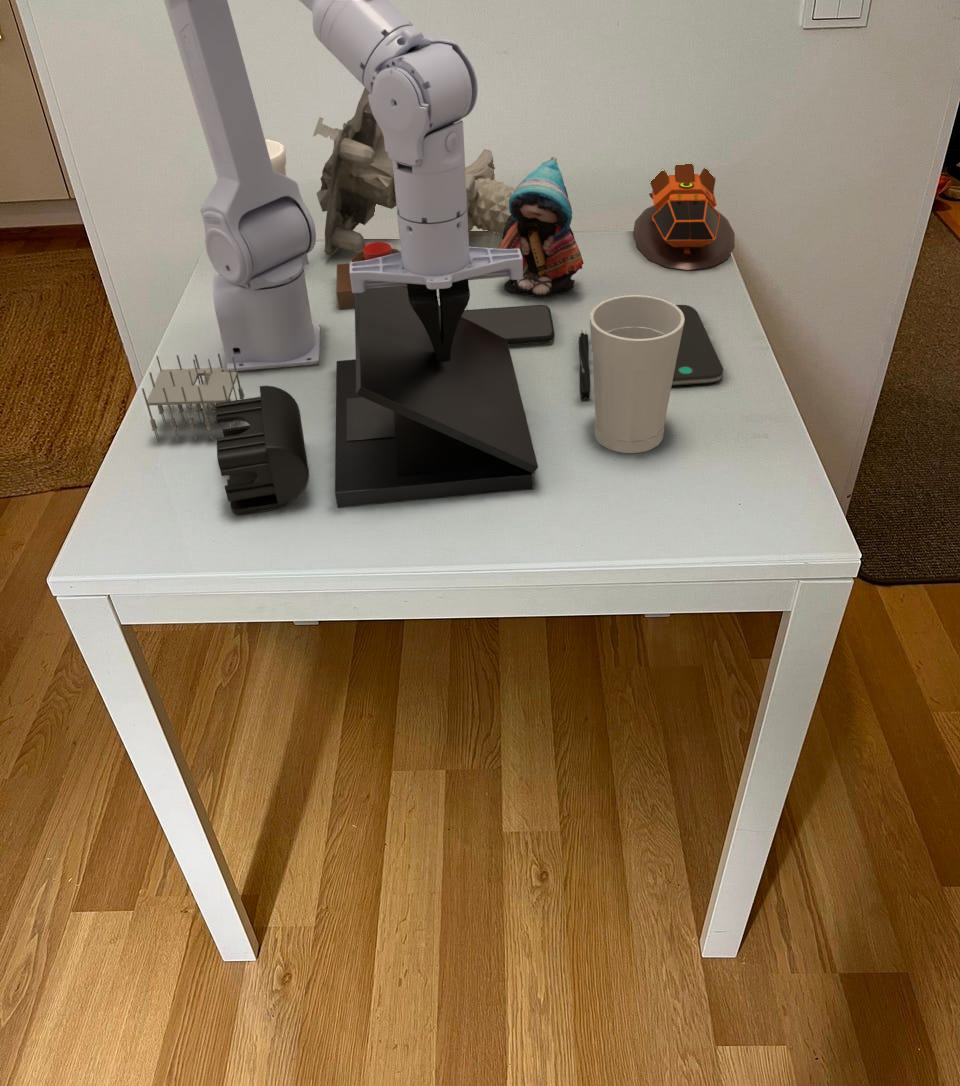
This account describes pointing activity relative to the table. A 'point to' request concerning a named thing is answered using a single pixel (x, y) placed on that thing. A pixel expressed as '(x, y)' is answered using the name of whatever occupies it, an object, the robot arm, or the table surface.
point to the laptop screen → (441, 377)
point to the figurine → (542, 234)
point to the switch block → (349, 282)
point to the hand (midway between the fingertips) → (442, 356)
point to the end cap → (262, 451)
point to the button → (376, 250)
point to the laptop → (406, 455)
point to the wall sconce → (389, 182)
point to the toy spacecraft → (684, 222)
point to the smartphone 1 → (515, 323)
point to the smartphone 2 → (695, 353)
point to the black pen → (584, 365)
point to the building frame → (191, 392)
